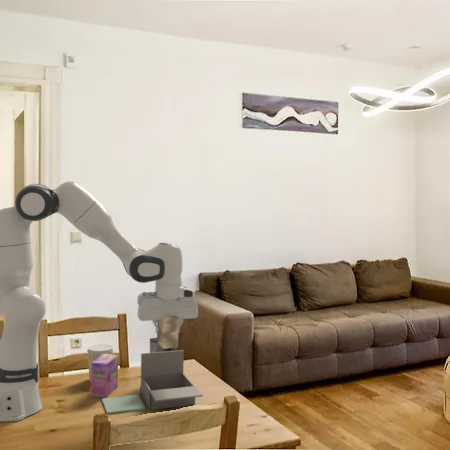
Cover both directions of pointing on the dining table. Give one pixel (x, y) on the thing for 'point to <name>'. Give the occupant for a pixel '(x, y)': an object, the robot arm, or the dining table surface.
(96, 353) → the coffee cup
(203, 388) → the dining table surface
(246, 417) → the dining table surface
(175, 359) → the carton
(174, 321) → the capped box
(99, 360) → the box
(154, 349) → the coffee box
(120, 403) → the mat
